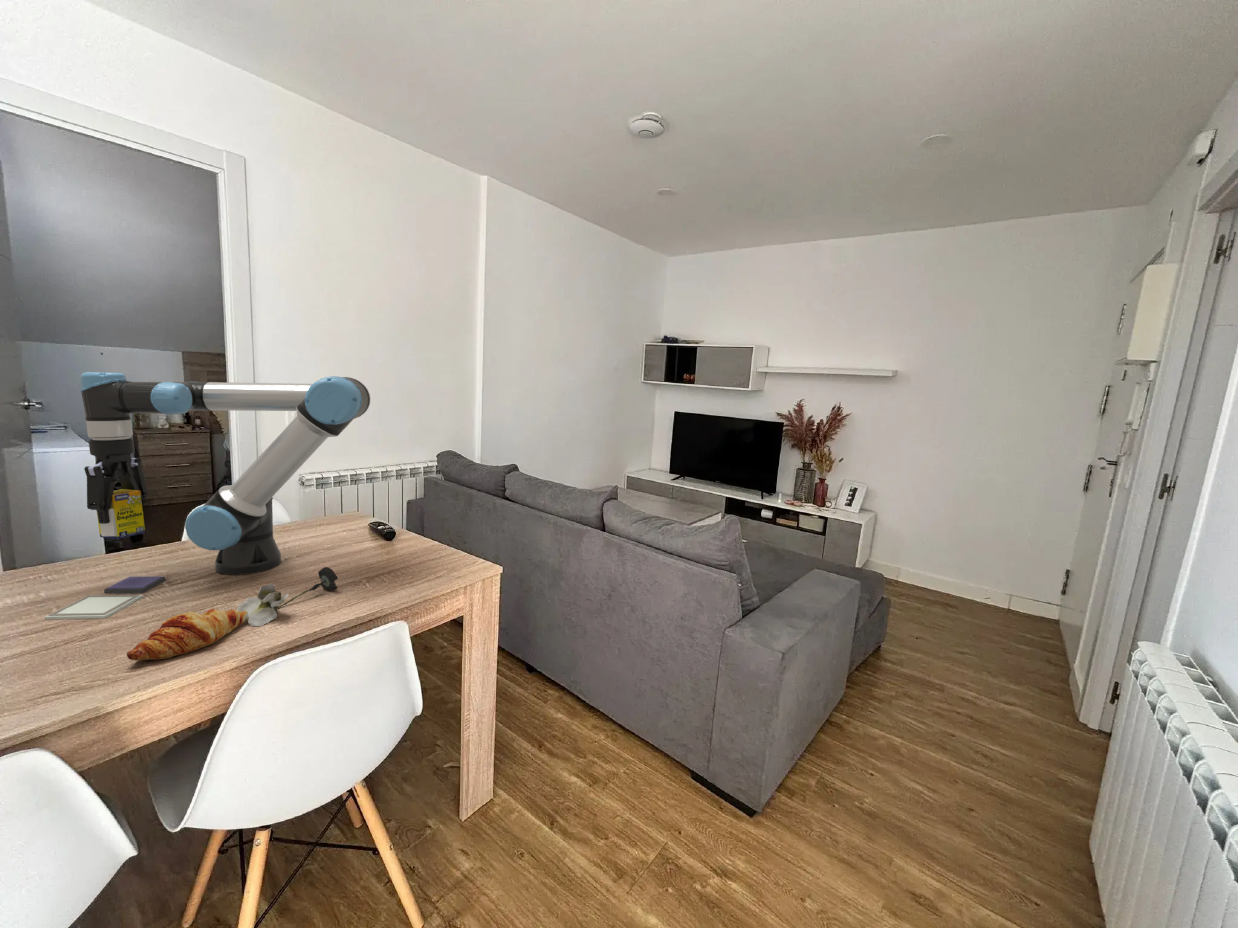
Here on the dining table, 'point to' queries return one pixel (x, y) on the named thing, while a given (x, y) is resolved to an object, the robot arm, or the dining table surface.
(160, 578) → the ink pad
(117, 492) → the supplement box
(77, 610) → the board
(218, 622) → the croissant
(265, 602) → the artificial flower
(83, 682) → the dining table surface
